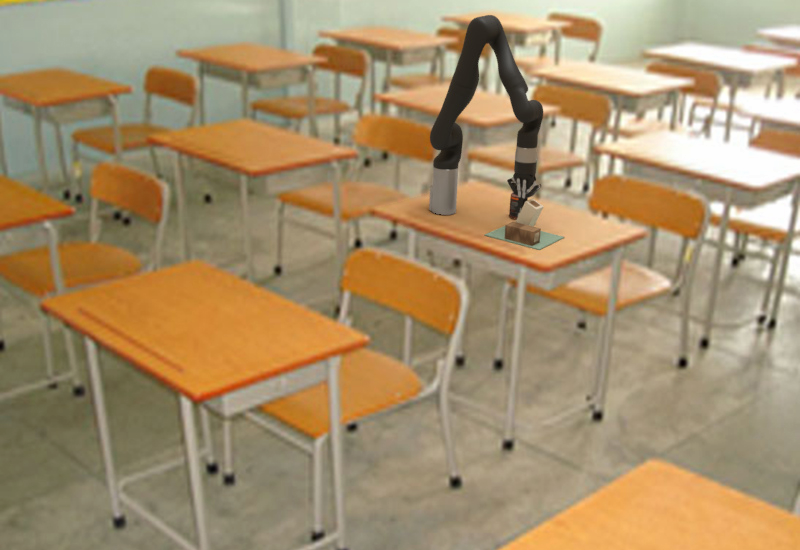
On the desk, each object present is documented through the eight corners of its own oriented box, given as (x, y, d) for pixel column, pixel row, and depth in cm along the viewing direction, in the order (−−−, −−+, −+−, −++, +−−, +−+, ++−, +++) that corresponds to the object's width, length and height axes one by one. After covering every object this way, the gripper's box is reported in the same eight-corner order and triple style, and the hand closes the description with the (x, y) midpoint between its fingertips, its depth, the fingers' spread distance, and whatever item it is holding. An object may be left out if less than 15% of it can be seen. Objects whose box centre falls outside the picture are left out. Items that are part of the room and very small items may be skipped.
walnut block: (505, 224, 336) (533, 232, 330) (513, 221, 340) (540, 228, 333) (504, 238, 338) (532, 246, 332) (512, 235, 342) (539, 242, 335)
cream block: (513, 226, 344) (525, 201, 338) (520, 223, 348) (532, 198, 342) (524, 235, 342) (536, 209, 336) (531, 231, 346) (544, 206, 340)
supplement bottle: (524, 220, 359) (526, 190, 354) (508, 219, 360) (510, 189, 355) (525, 215, 364) (528, 186, 360) (509, 214, 365) (511, 185, 361)
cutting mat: (484, 235, 342) (484, 234, 341) (510, 224, 354) (510, 223, 354) (539, 250, 329) (539, 249, 329) (564, 237, 342) (564, 236, 341)
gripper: (503, 157, 337) (500, 206, 343) (537, 164, 330) (533, 213, 336) (515, 153, 343) (512, 201, 349) (548, 160, 335) (544, 209, 341)
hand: (522, 207), depth 342 cm, fingers closed
